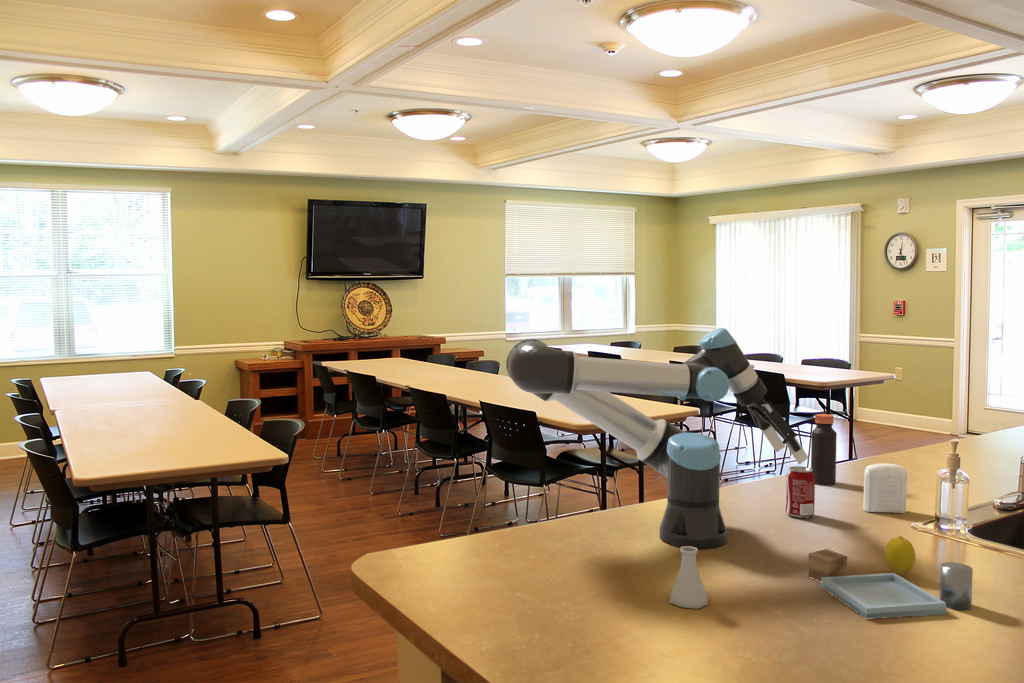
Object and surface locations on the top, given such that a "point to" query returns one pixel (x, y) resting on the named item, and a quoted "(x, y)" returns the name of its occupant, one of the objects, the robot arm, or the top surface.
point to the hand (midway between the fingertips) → (791, 454)
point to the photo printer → (885, 488)
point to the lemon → (899, 555)
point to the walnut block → (827, 564)
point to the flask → (688, 582)
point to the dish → (883, 595)
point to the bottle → (823, 450)
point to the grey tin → (956, 585)
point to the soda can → (800, 492)
